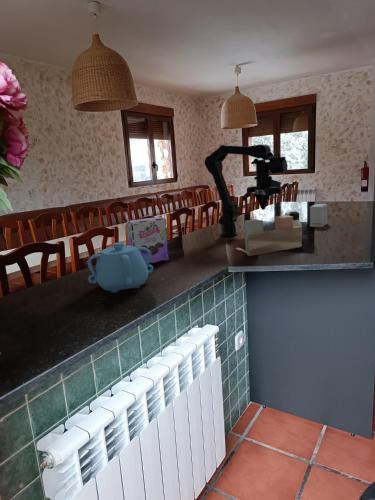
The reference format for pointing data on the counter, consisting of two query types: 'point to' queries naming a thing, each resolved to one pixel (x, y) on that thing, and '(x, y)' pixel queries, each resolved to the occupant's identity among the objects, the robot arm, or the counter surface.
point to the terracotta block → (283, 222)
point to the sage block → (252, 228)
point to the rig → (273, 241)
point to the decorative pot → (120, 267)
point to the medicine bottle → (294, 218)
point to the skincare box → (318, 215)
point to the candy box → (149, 237)
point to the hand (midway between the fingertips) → (263, 209)
